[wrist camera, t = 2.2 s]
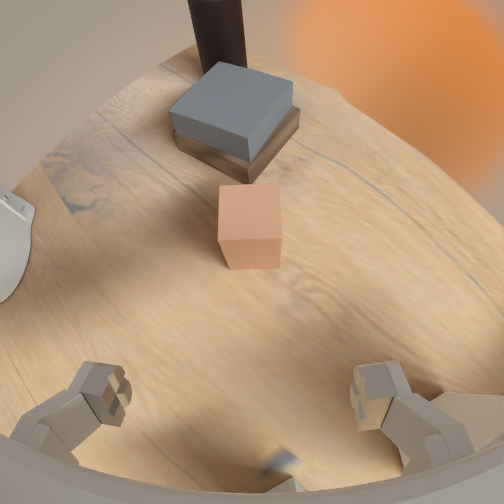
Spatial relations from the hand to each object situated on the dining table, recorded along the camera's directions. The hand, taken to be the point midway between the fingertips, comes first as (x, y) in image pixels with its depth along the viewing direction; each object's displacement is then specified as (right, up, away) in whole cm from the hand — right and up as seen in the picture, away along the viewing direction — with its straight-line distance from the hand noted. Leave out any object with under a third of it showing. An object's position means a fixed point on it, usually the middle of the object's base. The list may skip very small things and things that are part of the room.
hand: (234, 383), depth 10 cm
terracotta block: (+1, +5, +23) cm, 23 cm away
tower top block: (-1, +20, +24) cm, 32 cm away
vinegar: (-3, +32, +33) cm, 46 cm away
